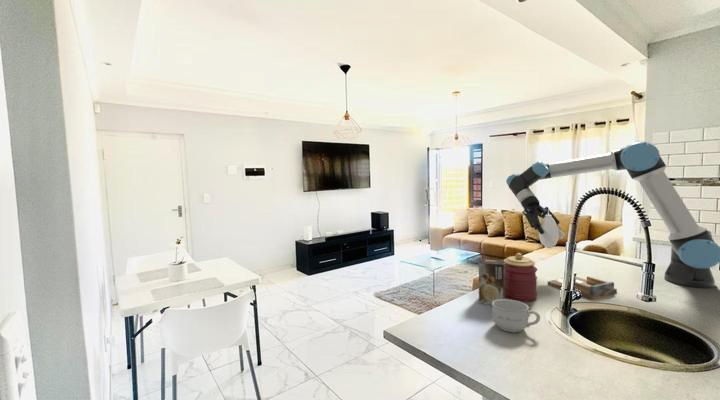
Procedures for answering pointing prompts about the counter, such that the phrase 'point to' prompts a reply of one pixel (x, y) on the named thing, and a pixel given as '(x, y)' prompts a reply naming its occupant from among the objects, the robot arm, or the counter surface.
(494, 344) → the counter surface
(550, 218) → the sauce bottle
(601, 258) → the counter surface
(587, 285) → the guide board
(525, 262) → the canister
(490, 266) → the coffee box
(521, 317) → the teacup
